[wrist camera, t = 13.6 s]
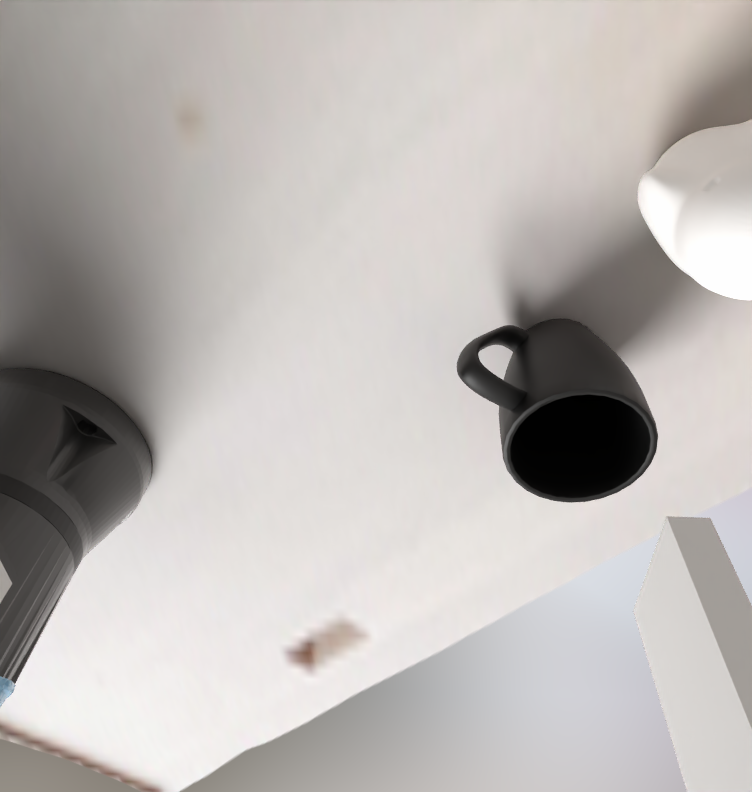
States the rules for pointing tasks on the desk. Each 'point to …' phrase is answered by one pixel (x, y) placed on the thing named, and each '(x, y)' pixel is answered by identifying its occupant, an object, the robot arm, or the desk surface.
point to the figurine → (705, 207)
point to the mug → (565, 411)
